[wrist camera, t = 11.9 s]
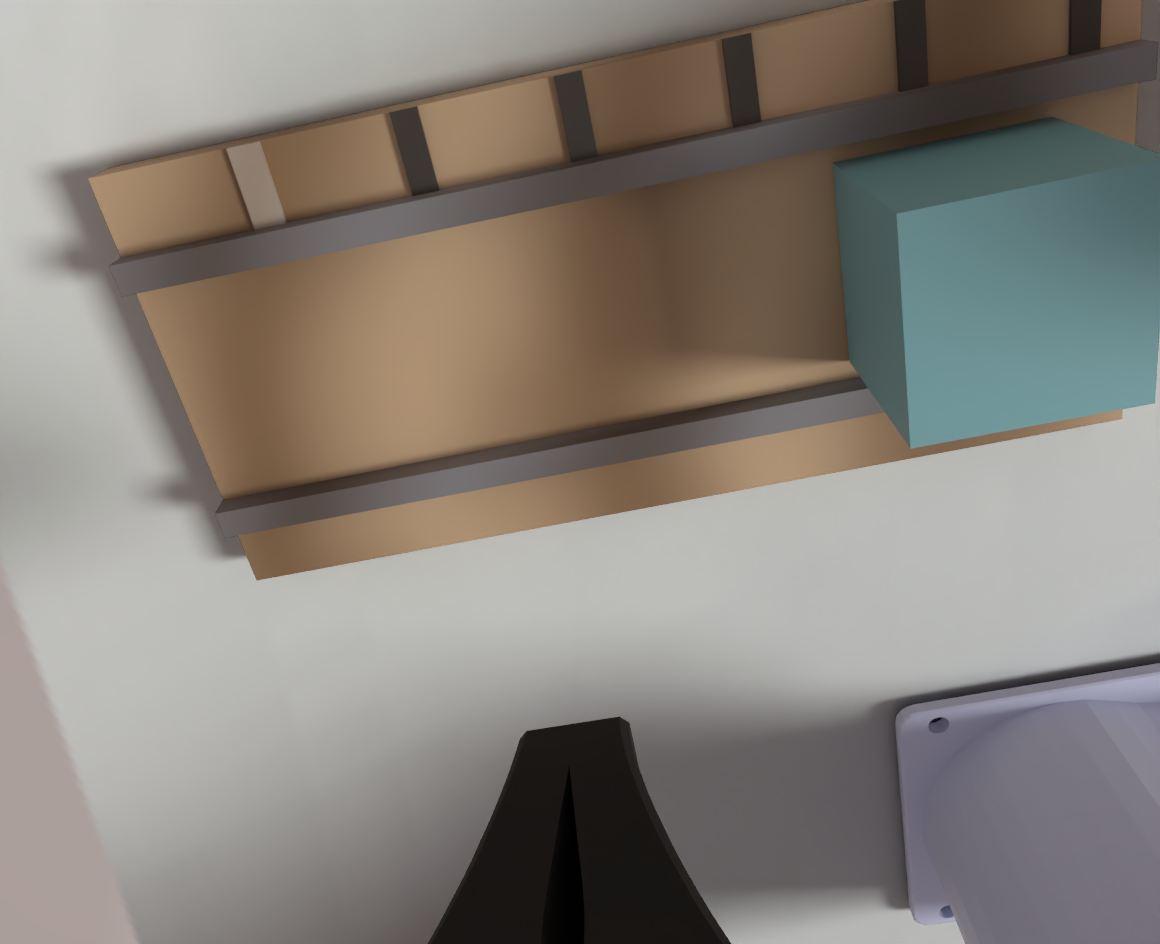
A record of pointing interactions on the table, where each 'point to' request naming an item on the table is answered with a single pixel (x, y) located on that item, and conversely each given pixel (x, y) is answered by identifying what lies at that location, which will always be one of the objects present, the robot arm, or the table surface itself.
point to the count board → (570, 273)
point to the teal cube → (1002, 278)
